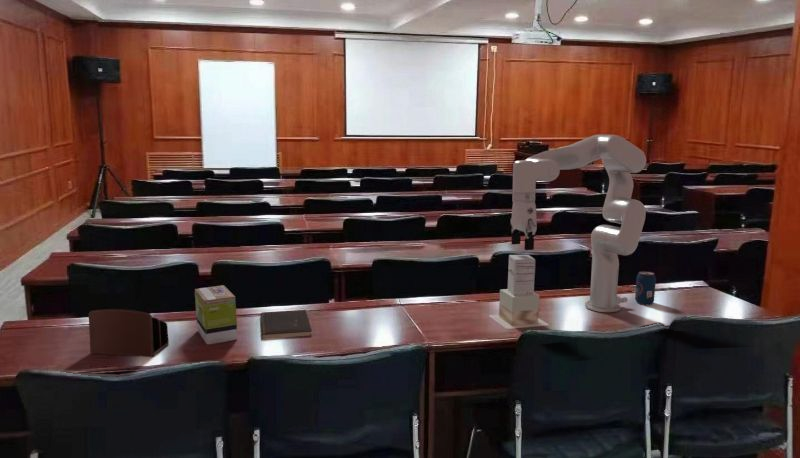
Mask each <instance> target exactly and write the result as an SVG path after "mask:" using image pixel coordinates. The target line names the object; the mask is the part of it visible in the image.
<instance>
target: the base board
mask: <svg viewBox="0 0 800 458" xmlns="http://www.w3.org/2000/svg"><path fill="white" fill-rule="evenodd" d="M488 317H490V318H491V319H492V320H494V321H495V322H497V323H498V324H499V325H501V326H502V327H503V328H504V329H506V330H511V329H512V330H513V329H520V328H521V329H522V328H533V327H534V328H535V327H545V326H550V324H549V323H547V322H546V321H544V320H543V319H541V318H539V317H538V323H537V324H526V325H515V326H511V325H510V324H508V323H507V322H505V321H504V320H503V319H501V318H500V317H499V314H490V315H488Z"/></svg>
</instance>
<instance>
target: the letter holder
mask: <svg viewBox="0 0 800 458" xmlns="http://www.w3.org/2000/svg"><path fill="white" fill-rule="evenodd" d="M152 316H153V315H152V314H151V313H148V312H145V311H138V310H131V309H117V308H109V309H108V308H107V309H96V310H90V311H89V313H88V329H89V331H88V332H89V347H90V348H89V351H90V354H91V355H109V356H129V357H147V358H149V357H150V358H153V357H155V356H157V355H158V354H159V353H160V352H162V351H163V350H164V349H166V348H167V347H168V346H169V345H170V344H169V330H168V323H167V322H166V321H164V320H160V319H158V318H156V317H152Z"/></svg>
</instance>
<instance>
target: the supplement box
mask: <svg viewBox="0 0 800 458" xmlns="http://www.w3.org/2000/svg"><path fill="white" fill-rule="evenodd" d="M507 268H508V272H507V275H508V276H507V289H508V290H509V291H510V292H511V293H512V294H513V295H534V292H535V275H536V259H535V258H534V257H533V256H531V255H529V254H509V255H508V267H507Z"/></svg>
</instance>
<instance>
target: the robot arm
mask: <svg viewBox="0 0 800 458" xmlns="http://www.w3.org/2000/svg"><path fill="white" fill-rule="evenodd" d="M600 159H601V163H602V166H603V168H604V169H605V171H606V172H607V175H608V179H609V180H608V181H609V184H608V189H607V192H606V195H605V200H604V203H603V207H602V217H603V219H604V220H606V221H608V222H610V223H616V224H619V225H621V226H620V227H619V226H614V225H610V224H600V225H598V226H597V225H596V227H594V228H593V230H592V231H591V234H590V244H591V251H592V253H591V254H592V256H591V257H592V259H591V274H590V275H591V278H590V291H589V292H590V293H589V300H587V301H586V302H585V303H584V307H585V308H586V309H588V310H591V311H593V312H599V313H616V312H618V311H620V310H621V305H620V304H621V303H627V302H628V297H625V296H623V297H621V296H618V282H619V270H620V268H619V266H620V262H619V261H620V260H619V256H618V255H621V256H630V255H632V254H633V253H634V252H635V251H636V249H637V247H638V246H639V241H640V238H641V235H642V231H643V227H644V225H645V221H646V207H645V205H644V204H643V202H641V201H640V200H637V199H633V198H632V195H633V191H634V190H633V189H634V180H633V177H632V175H631V174H637V173H640V172H641V171H642V170H644V168H645V167H646V166H647V165H646V164H647V158H646V155H645V152H644V151H643V150H642V149H640V148H639V147H637V146H636V145H635V144H633V143H631V142H630V141H628V140H627V139H625V138H624V137H622V136H620V135H617V134H603V133H602V134H594V135H591V136H588V137H587V138H584V139H582V140H579V141H577V142H574V143H572V144H569V145H565V146H560V147H557V148H552V149H549V150H545V151H541V152H539V153H537V154H534V155H532V156H529V157H527V158H526V159H521V160H515V161H514V162H513V166H512V195H511V196H512V201H511V202H512V207H511V218H509V221H510V228H511V241H510V242H511V245H521V240H522V239H521V238H522V237H521V235H522V233H524V236H525V238H524V248H523V250H525V251H533V250H534V249H535V238H536V235H537V229H538V227H537V225H538V224H537V223H538V222H537V221H538V220H537V205H536V185H537V184H536V182H544V183H545V182H553V181H554V180H556V179H557V178H558V177H559V176H560V174H561V173H560V172H561V171H562V170H575V169H579V168H582V167H583V166H586V165H588V164H590V163H593V162H596V161H597V160H600ZM560 170H561V171H560ZM521 232H522V233H521Z"/></svg>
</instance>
